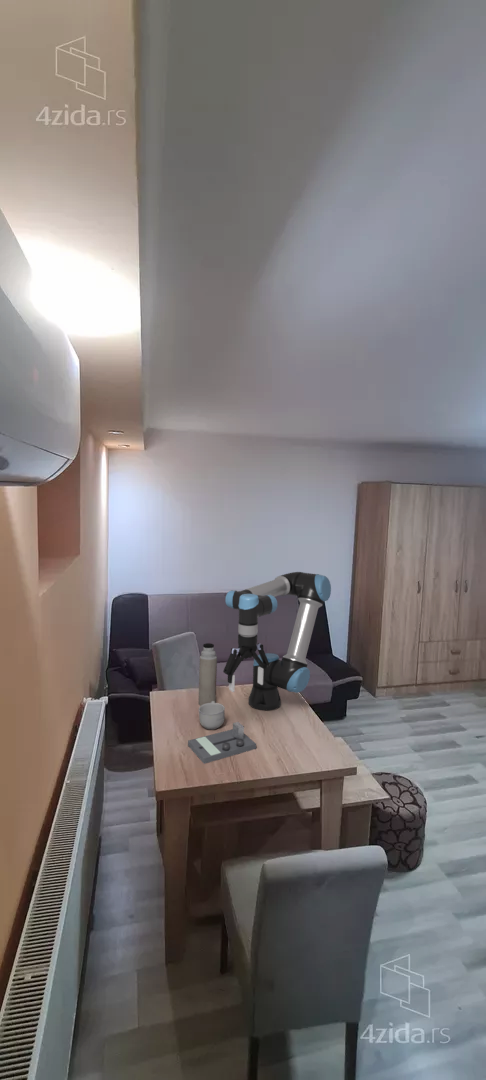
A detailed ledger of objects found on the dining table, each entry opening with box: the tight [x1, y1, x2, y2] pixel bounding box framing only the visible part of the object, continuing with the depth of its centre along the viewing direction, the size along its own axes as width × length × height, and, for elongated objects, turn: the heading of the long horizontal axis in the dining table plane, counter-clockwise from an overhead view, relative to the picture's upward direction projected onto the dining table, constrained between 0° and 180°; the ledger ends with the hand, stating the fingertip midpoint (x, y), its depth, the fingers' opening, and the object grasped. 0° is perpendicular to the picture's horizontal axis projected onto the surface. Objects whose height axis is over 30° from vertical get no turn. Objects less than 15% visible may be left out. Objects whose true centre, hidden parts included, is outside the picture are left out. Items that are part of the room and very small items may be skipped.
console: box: [187, 728, 257, 765], centre depth 176 cm, size 22×14×4 cm, turn 121°
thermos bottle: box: [198, 642, 218, 707], centre depth 213 cm, size 8×8×28 cm
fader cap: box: [232, 721, 245, 739], centre depth 180 cm, size 2×4×5 cm, turn 31°
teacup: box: [198, 701, 226, 731], centre depth 194 cm, size 14×11×8 cm
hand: (246, 687), depth 182 cm, fingers open, 13 cm apart
